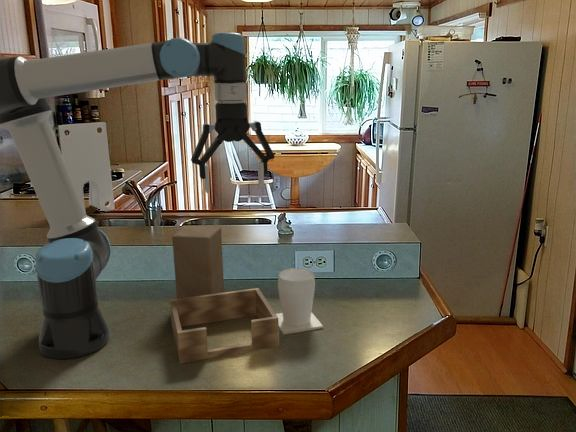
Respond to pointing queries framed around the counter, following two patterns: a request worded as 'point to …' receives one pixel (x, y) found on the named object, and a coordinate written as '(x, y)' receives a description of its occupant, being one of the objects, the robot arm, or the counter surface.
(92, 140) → the white tall tapered bar
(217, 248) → the wooden block
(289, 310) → the cup
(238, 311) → the crate
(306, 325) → the mat
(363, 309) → the counter surface
